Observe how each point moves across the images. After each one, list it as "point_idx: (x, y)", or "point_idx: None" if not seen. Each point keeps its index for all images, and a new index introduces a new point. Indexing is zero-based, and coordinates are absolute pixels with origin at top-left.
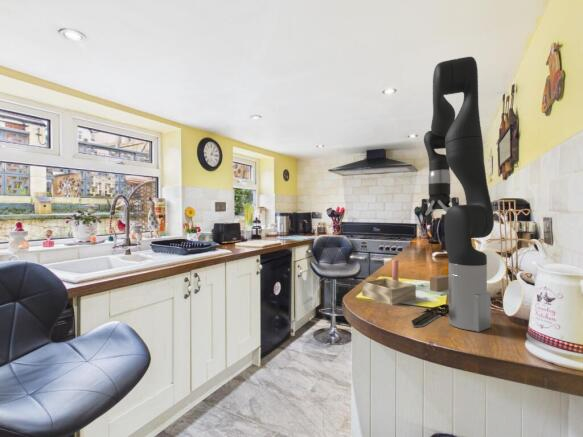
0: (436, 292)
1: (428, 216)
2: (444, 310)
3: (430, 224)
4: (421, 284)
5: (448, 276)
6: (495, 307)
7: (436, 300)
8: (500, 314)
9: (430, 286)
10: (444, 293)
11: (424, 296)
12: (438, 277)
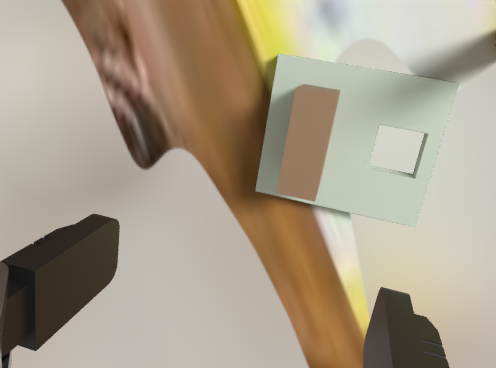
0: (302, 71)
1: (391, 365)
2: None
3: (371, 322)
4: (419, 172)
5: (278, 181)
6: (105, 79)
7: (278, 8)
8: (67, 5)
9: (337, 91)
10: (273, 85)
11: (343, 32)
12: (302, 120)
